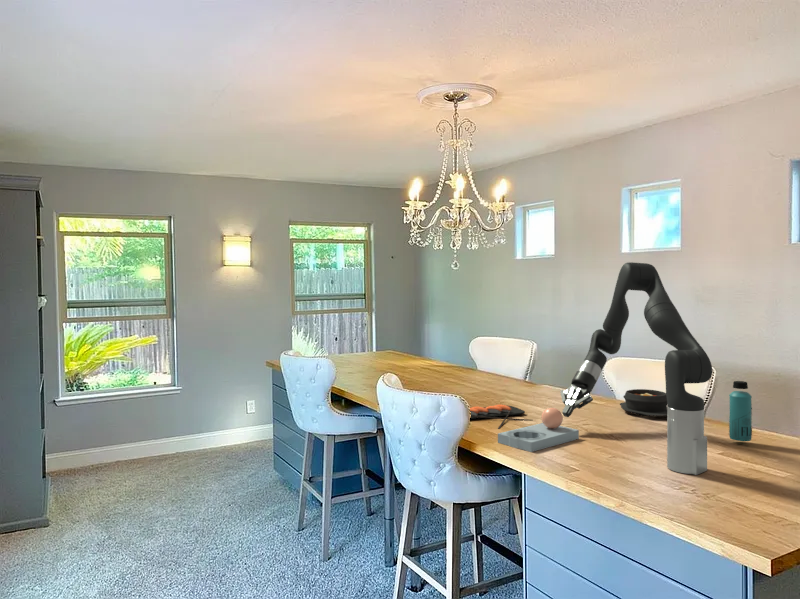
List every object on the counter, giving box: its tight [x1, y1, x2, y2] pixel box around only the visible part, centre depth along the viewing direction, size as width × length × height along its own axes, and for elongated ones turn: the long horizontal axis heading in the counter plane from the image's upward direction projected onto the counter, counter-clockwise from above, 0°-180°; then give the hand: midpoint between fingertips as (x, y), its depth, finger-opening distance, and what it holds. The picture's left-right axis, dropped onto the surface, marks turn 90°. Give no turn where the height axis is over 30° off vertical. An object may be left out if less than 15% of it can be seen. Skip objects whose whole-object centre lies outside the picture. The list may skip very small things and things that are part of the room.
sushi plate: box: [469, 404, 532, 430], centre depth 227 cm, size 29×30×4 cm
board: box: [497, 422, 580, 453], centre depth 195 cm, size 14×24×3 cm, turn 127°
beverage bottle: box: [728, 380, 753, 442], centre depth 189 cm, size 6×7×20 cm
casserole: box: [619, 388, 667, 417], centre depth 234 cm, size 25×19×8 cm
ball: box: [541, 407, 564, 429], centre depth 199 cm, size 7×7×7 cm
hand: (565, 415), depth 204 cm, fingers closed
